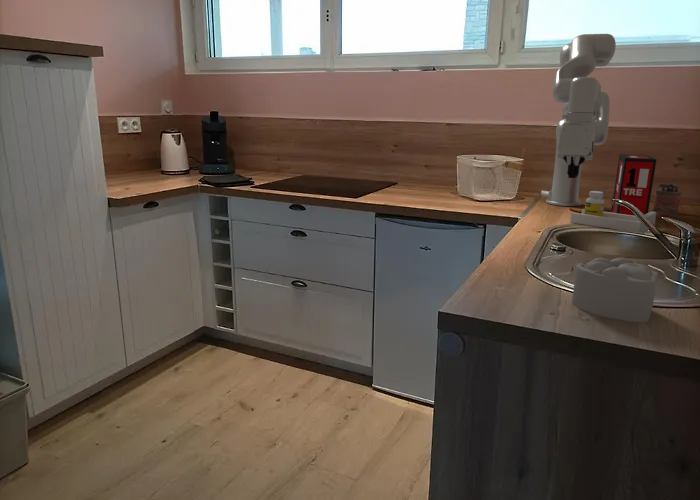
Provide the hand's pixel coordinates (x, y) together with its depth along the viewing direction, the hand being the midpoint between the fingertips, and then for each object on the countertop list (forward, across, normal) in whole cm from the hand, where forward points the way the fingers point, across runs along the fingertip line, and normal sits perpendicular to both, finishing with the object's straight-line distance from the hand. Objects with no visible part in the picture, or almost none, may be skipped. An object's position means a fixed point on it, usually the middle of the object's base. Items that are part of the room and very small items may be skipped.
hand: (572, 177), depth 173 cm
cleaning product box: (+13, +13, +21) cm, 28 cm away
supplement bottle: (+14, +8, +1) cm, 16 cm away
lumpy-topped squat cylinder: (+16, +37, -76) cm, 86 cm away
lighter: (+13, +20, +40) cm, 46 cm away
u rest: (+14, +13, +1) cm, 19 cm away
